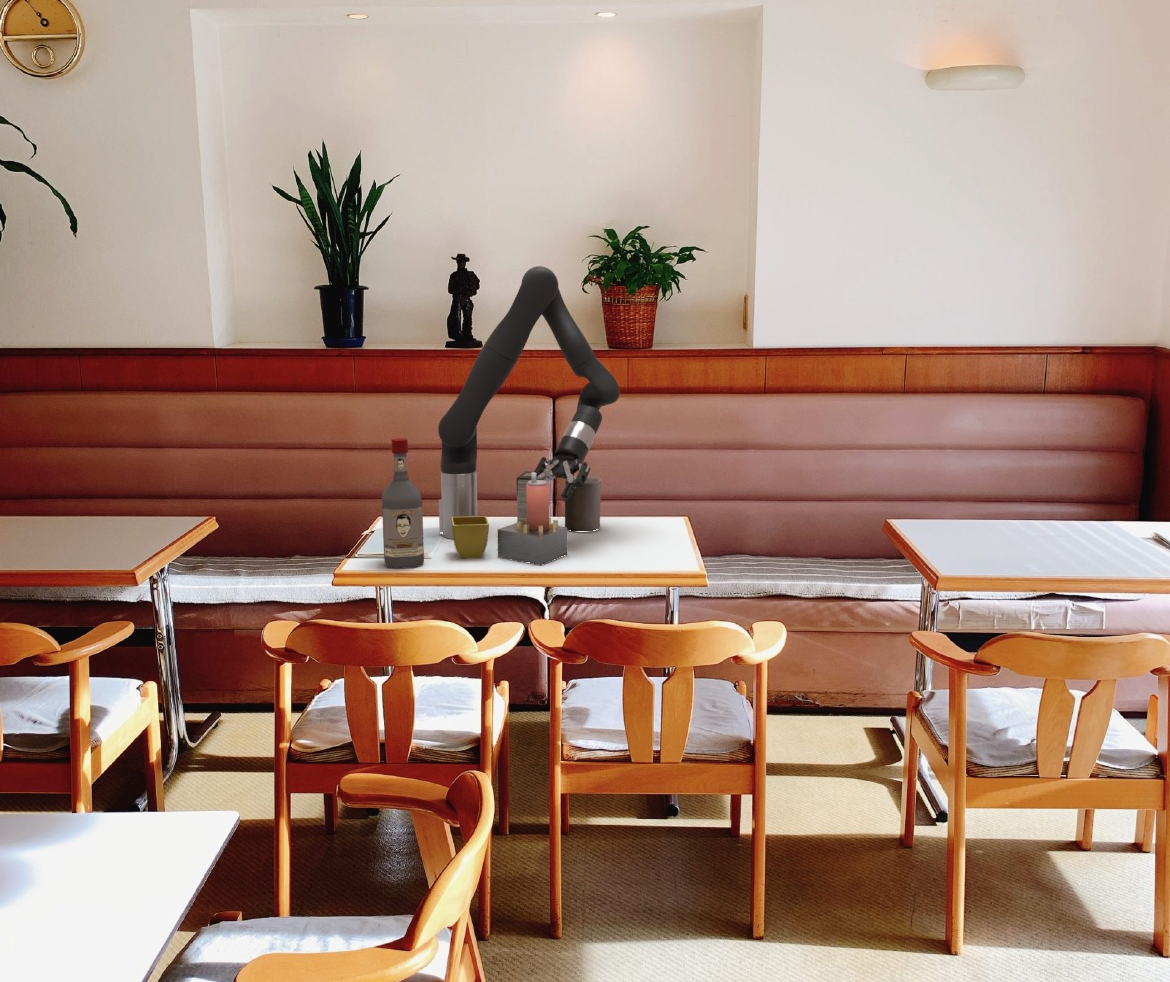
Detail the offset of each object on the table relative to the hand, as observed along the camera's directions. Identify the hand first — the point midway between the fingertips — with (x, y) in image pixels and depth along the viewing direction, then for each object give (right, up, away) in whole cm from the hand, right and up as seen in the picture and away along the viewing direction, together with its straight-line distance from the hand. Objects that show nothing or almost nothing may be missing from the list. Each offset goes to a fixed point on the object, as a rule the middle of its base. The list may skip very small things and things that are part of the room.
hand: (549, 496), depth 256 cm
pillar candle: (+8, -9, +27) cm, 30 cm away
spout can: (-3, -8, -2) cm, 9 cm away
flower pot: (-19, -15, 0) cm, 24 cm away
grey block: (-5, -14, +1) cm, 15 cm away
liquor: (-35, -16, -6) cm, 39 cm away
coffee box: (-5, -10, +22) cm, 24 cm away
